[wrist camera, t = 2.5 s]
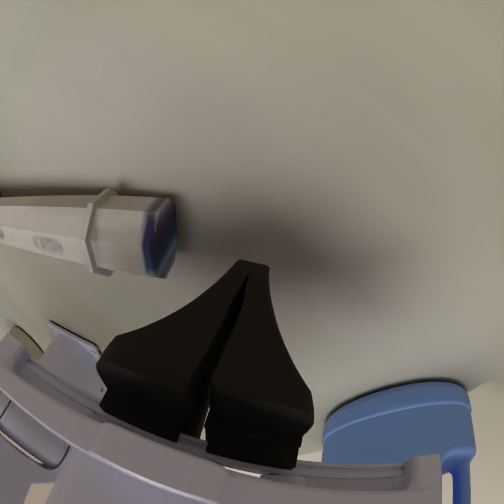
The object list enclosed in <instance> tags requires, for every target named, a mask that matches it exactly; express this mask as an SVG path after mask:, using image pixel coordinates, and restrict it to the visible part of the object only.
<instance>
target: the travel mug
mask: <svg viewBox="0 0 504 504" xmlns="http://www.w3.org/2000/svg"><path fill="white" fill-rule="evenodd" d="M9 333H10V334H11V335H12V336H14V337H15V338H16V339H17V340H19V341H20V342H21V343H22V344H23V345H24V346H25V347H26V348H27V350H28V351H29V353H30V355H31V356H32V357H34V358H35V359H36V360H39V359H40V357H41V356H42V355H43V352H42V351H41V349H40V348H39V346H38V345H37V344H36V343H35V342H34V341H33V340H32V339H31V337H30V336H29V335H27V334H26V333H25V332H24V331H23V330H21V329H20V328H18V327H13V328H12V330H11V331H10V332H9ZM2 393H3V392H2V391H1V390H0V397H1V395H2Z"/></svg>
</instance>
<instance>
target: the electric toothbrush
mask: <svg viewBox="0 0 504 504" xmlns="http://www.w3.org/2000/svg"><path fill="white" fill-rule="evenodd" d="M0 243H2V244H6V245H9V246H13V247H16V248H20V249H23V250H27V251H31V252H35V253H38V254H42V255H46V256H50V257H54V258H58V259H62V260H66V261H70V262H74V263H78V264H82V265H87V269H88V272H91V273H95V274H99V275H103V276H108V277H110V276H111V275H112V273H113V272H114V271H116V272H123V273H129V274H136V275H143V276H150V277H157V278H164V279H166V278H167V275H168V273H169V271H170V269H171V267H172V265H173V263H174V260H175V253H176V247H177V226H176V208H175V205H174V204H173V202H172V201H171V199H170V198H157V197H138V196H119V195H118V194H117V193H116V192H115V191H114V190H113V189H112V188H106V189H105V190H103V191H102V192H101V193H100V194H98V195H53V196H23V197H4V198H1V194H0Z"/></svg>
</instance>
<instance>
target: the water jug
mask: <svg viewBox="0 0 504 504" xmlns="http://www.w3.org/2000/svg"><path fill="white" fill-rule="evenodd" d="M322 444H323V453H322V462H324V463H341V464H386V463H403V462H405V461H406V460H408V459H410V458H413V457H416V456H421V455H430V454H437V453H439V454H440V460H441V501H442V475H443V474H445V473H448V472H449V473H451V474H452V477H453V504H470V503H471V500H470V499H471V493H470V491H471V488H470V467H469V466H470V462H471V460H472V459H473V457H474V456H475V453H476V445H475V438H474V431H473V424H472V419H471V405H470V400H469V396H468V394H467V392H466V391H465V390H464V389H463V388H462V387H460V386H458V385H456V384H453V383H448V382H421V383H414V384H408V385H402V386H398V387H394V388H390V389H386V390H382V391H379V392H376V393H373V394H370V395H367V396H364V397H362V398H359V399H357V400H355V401H352V402H350V403H348V404H346V405H345V406H343V407H341V408H340V409H338V410H337V411H336V412H334V413H333V414H332V415H331V416H330V417H329V418H328V420H327V421H326V423H325V425H324V430H323V439H322ZM441 503H442V502H441Z"/></svg>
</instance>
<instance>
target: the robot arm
mask: <svg viewBox="0 0 504 504" xmlns="http://www.w3.org/2000/svg"><path fill="white" fill-rule="evenodd" d="M269 269H270V268H269V267H268V266H266V265H262V264H258V263H253V262H249V261H245V260H238V261H237V262H236V263H235V264H234V265H233V266H232V267H231V268H230V269H229V270H228V271H227V272H226V273H225V274H224V275H223V276H222V277H221V278H220V279H219V280H218V281H217V282H216V283H215V284H214V285H212V286H211V287H210V288H209V289H208V290H206V291H205V292H204V293H202V294H201V295H200V296H199V297H197V298H196V299H195V300H193V301H192V302H190V303H189V304H187V305H186V306H184V307H183V308H181V309H179V310H177V311H176V312H174V313H172V314H170V315H169V316H167V317H165V318H163V319H161V320H158V321H156V322H154V323H152V324H149V325H147V326H145V327H142V328H140V329H137V330H134V331H131V332H128V333H124V334H121V335H118V336H116V337H115V338H114V339H113V340H112V341H111V342H110V344H109V345H108V346H107V348H106V349H105V351H104V352H103V354H102V355H100V353H99V351H98V349H97V347H96V346H95V345H93V344H91V343H89V342H87V341H85V340H83V339H81V338H79V337H78V336H76V335H74V334H72V333H70V332H68V331H66V330H64V329H63V328H61V327H59V326H57V325H55V324H54V323H52V322H50V321H48V323H47V325H48V327H49V329H50V331H51V332H52V334H53V336H54V340H53V341H52V342H51V344H50V345H49V346H48V348H47V349H46V351H45V352H44V353H43V355H42V356H41V357H40V359H39V360H36V359H35V358H34V357H32V356H31V355H30V353H29V351H28V350H27V348H26V347H25V346H24V345H23V344H22V343H21V342H20V341H19V340H17V339H16V338H15V337H14V336H12V335H11V334H10V333H7V334H6V335H5V337H4V338H3V339H2V340H1V342H0V390H1V391H2V392H3V393H2V395H1V397H0V430H1V431H2V432H3V433H4V434H5V435H7V436H8V437H9V438H10V439H11V440H13V441H14V442H15V443H16V444H18V445H19V446H20V447H22V448H23V449H24V450H26V451H27V452H28V453H30V454H31V455H32V456H34V457H35V458H37V459H38V460H40V461H41V462H43V463H44V464H41V463H38V462H36V461H34V460H33V459H31V458H30V457H28V456H27V455H26V454H24V453H23V452H22V451H20V450H19V449H18V448H17V447H15V446H14V445H13V444H12V443H10V442H9V441H8V440H6V439H5V438H4V437H3V436H2V435H1V433H0V504H23V503H24V501H25V499H26V496H27V494H28V491H29V489H30V486H31V484H36V483H37V484H40V483H41V484H44V483H45V484H51V483H54V486H53V488H52V490H51V492H50V494H49V497H48V499H47V501H46V504H441V460H440V454H439V453H437V454H430V455H421V456H416V457H413V458H410V459H408V460H406V461H405V462H403V463H386V464H341V463H324V462H311V461H302V460H297V456H298V450H299V448H300V447H301V444H302V437H303V435H304V434H305V433H306V432H307V431H308V430H309V429H310V428H311V427H312V426H313V424H314V407H313V400H312V394H311V391H310V389H309V388H308V387H307V385H306V384H305V382H304V380H303V379H302V377H301V376H300V374H299V372H298V370H297V369H296V367H295V365H294V363H293V361H292V359H291V357H290V355H289V353H288V351H287V349H286V347H285V344H284V342H283V339H282V337H281V334H280V331H279V328H278V325H277V322H276V318H275V315H274V311H273V306H272V301H271V296H270V289H269ZM106 390H107V391H106ZM105 392H106V393H105ZM104 394H105V395H104ZM103 396H104V397H103ZM102 397H103V398H102ZM209 405H210V410H209V413H208V416H207V419H206V421H205V418H206V415H207V412H208V408H209ZM204 422H205V424H204ZM203 425H204V428H205V433H206V441H204V440H201V439H200V436H201V432H202V429H203ZM223 466H225V467H229V468H233V469H238V470H242V471H247V472H253V473H257V474H263V475H261V476H260V478H258V477H254V476H250V475H246V474H242V473H238V472H235V471H231V470H228V469H225V468H224V467H223Z"/></svg>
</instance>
